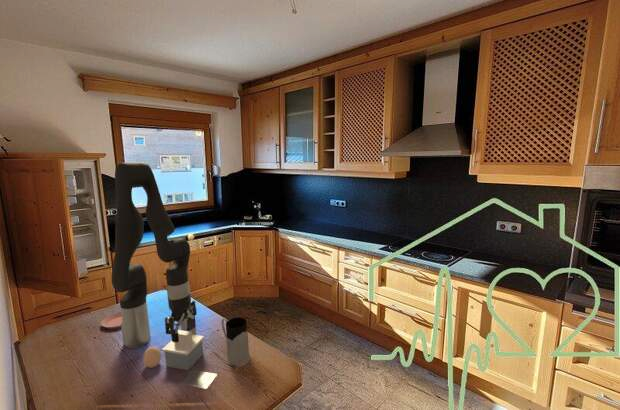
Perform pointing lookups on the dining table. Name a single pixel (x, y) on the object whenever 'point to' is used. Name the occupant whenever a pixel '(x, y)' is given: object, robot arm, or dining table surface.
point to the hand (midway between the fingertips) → (183, 335)
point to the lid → (183, 343)
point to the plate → (112, 321)
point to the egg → (152, 357)
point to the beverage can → (185, 328)
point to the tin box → (184, 358)
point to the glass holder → (236, 341)
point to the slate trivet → (199, 379)
